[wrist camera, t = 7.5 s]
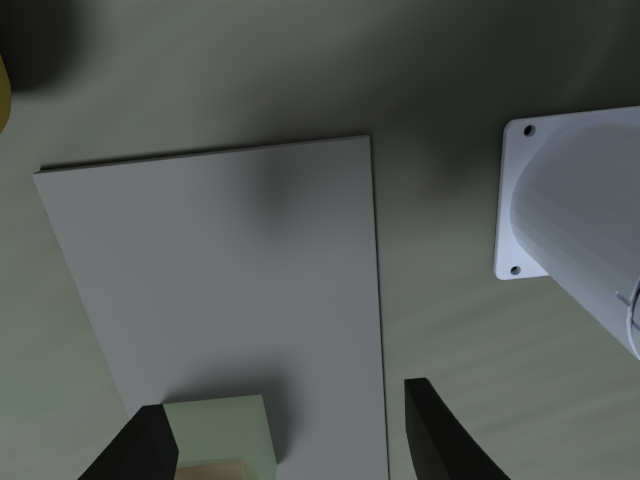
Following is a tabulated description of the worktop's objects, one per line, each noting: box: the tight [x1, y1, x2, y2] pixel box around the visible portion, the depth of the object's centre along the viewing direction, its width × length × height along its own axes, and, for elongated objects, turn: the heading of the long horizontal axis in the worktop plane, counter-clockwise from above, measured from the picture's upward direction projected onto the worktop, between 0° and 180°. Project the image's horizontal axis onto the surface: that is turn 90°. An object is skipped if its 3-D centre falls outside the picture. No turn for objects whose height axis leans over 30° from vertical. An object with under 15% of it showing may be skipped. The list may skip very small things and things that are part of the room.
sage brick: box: [163, 394, 277, 480], centre depth 24 cm, size 6×6×4 cm
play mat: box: [31, 135, 388, 480], centre depth 24 cm, size 15×24×1 cm, turn 6°
